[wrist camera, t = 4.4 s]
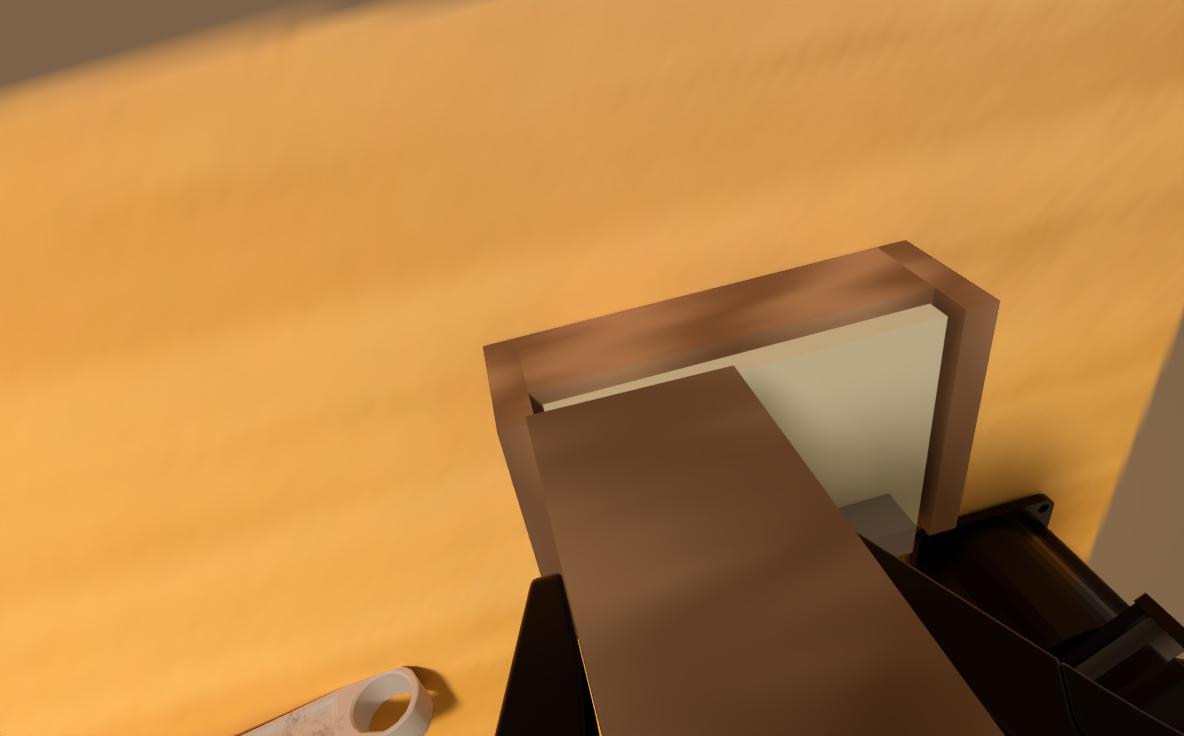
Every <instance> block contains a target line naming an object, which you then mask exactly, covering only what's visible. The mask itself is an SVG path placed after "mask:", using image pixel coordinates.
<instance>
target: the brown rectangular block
mask: <svg viewBox="0 0 1184 736" xmlns="http://www.w3.org/2000/svg"><path fill="white" fill-rule="evenodd" d="M525 417H526V421H527V425H528V429H529V433H530V438H531V442H532V446H533V450H534V454H535V459H536V463H537V467H538V471H539V475H540V480H541V484H542V488H543V492H544V496H545V501H546V505H547V509H548V513H549V517H550V522H551V526H552V530H553V534H554V538H555V543H556V547H557V551H558V555H559V559H560V564H561V568H562V572H563V576H564V580H565V584H566V589H567V593H568V597H569V601H570V605H571V609H572V613H573V618H574V622H575V626H576V630H577V634H578V638H579V643H580V647H581V651H582V655H583V659H584V663H585V667H586V672H587V676H588V680H589V684H590V688H591V692H592V696H593V701H594V705H595V709H596V713H597V717H598V721H599V726H600V730H601V734H602V736H1005V735H1004V734H1003V732H1002V731H1001V730H1000V728H999V727H998V726H997V724H996V723H995V722H994V720H993V719H992V717H991V716H990V715H989V713H988V712H987V711H986V709H985V708H984V707H983V705H982V704H981V702H980V701H979V700H978V698H977V697H976V696H975V694H974V693H973V691H972V690H971V689H970V687H969V686H968V685H967V683H966V682H965V681H964V679H963V678H962V676H961V675H960V674H959V672H958V671H957V670H956V668H955V667H954V666H953V664H952V663H951V661H950V660H949V659H948V657H947V656H946V655H945V653H944V652H943V651H942V649H941V648H940V646H939V645H938V644H937V642H936V641H935V640H934V638H933V637H932V635H931V634H930V633H929V631H928V630H927V629H926V627H925V626H924V625H923V623H922V622H921V620H920V619H919V618H918V616H917V615H916V614H915V612H914V611H913V610H912V608H911V607H910V605H909V604H908V603H907V601H906V600H905V599H904V597H903V596H902V594H901V593H900V592H899V590H898V589H897V588H896V586H895V585H894V584H893V582H892V581H891V579H890V578H889V577H888V575H887V574H886V573H885V571H884V570H883V569H882V567H881V566H880V564H879V563H878V562H877V560H876V559H875V558H874V556H873V555H872V553H871V552H870V551H869V549H868V548H867V547H866V545H865V544H864V543H863V541H862V540H861V538H860V537H859V536H858V534H857V533H856V532H855V530H854V529H853V528H852V526H851V525H850V523H849V522H848V521H847V519H846V518H845V517H844V515H843V514H842V513H841V511H840V510H839V508H838V507H837V506H836V504H835V503H834V502H833V500H832V499H831V497H830V496H829V495H828V493H827V492H826V491H825V489H824V488H823V487H822V485H821V484H820V482H819V481H818V480H817V478H816V477H815V476H814V474H813V473H812V472H811V470H810V469H809V467H808V466H807V465H806V463H805V462H804V461H803V459H802V458H801V456H800V455H799V454H798V452H797V451H796V450H795V448H794V447H793V446H792V444H791V443H790V441H789V440H788V439H787V437H786V436H785V435H784V433H783V432H782V431H781V429H780V428H779V426H778V425H777V424H776V422H775V421H774V420H773V418H772V417H771V416H770V414H769V413H768V411H767V410H766V409H765V407H764V406H763V405H762V403H761V402H760V400H759V399H758V398H757V396H756V395H755V394H754V392H753V391H752V390H751V388H750V387H749V385H748V384H747V383H746V381H745V380H744V379H743V377H742V376H741V375H740V373H739V372H738V370H737V369H736V368H735V366H734V365H733V366H729V367H725V368H721V369H716V370H712V371H708V372H704V373H700V374H696V375H692V376H688V377H684V378H680V379H676V380H671V381H667V382H663V383H659V384H655V385H651V386H647V387H643V388H639V389H635V390H631V391H626V392H622V393H618V394H614V395H610V396H606V397H602V398H598V399H594V400H590V401H586V402H581V403H577V404H573V405H569V406H565V407H561V408H557V409H553V410H549V411H545V412H541V413H536V414H532V415H528V416H525Z"/></svg>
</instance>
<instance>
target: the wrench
mask: <svg viewBox="0 0 1184 736" xmlns="http://www.w3.org/2000/svg"><path fill="white" fill-rule="evenodd" d="M401 693H411V701H410V703H409V706H408V708H407V710H406V712H405V713H404V715H403V716H402V717H401V718H400V719H399V720H398V722H397V723H395V724H394V725H392V726H391V727H389V728H388V729H386V730H385V731H372V732H369V724H370V722H371V719H372V717H373V715H374V713H375V712H376V710H377V709H378V708H379V707H380V706H381V705H382V704H383V702H385V701H386V700H388V699H389V698H391V697H393V696H394V695H398V694H401ZM432 716H433V701H432V699H431V697H430V695H429V693H428V692H427V691H426V689H425V688H424V686H423V685H422V683H421V682H420V680H419V679H418V678H417V676H416V675H415V673H414V672H413V670H412V669H410V668H408V667H404V666H403V667H398V668H396V669H393V670H390V671H387V672H385V673H382V674H380V675H375V676H372V677H370V678H367V679H364V680H361V681H358V682H355V683H352V684H350V685H348V686H345V687H343V688H340V689H338V690H336V691H334V692H332V693H330V694H328V695H325V696H323V697H321V698H319V699H317V700H315V701H313V702H311V703H309V704H306V705H304V706H302V707H300V708H298V709H296V710H294V711H292V712H290V713H288V714H285V715H283V716H281V717H279V718H277V719H275V720H273V721H271V722H269V723H267V724H264V725H262V726H260V727H258V728H256V729H254V730H252V731H250V732H247V733H245V734H243V735H241V736H424V735H425V734H426V732H427V731H428V728H429V726H430V723H431V720H432Z"/></svg>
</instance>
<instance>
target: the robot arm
mask: <svg viewBox="0 0 1184 736" xmlns="http://www.w3.org/2000/svg"><path fill="white" fill-rule="evenodd" d="M1053 507H1054V502H1053V501H1052V500H1051V499H1050V498H1049V497H1048V496H1046V495H1045V494H1040V495H1036V496H1033V497H1029V498H1026V499H1022V500H1019V501H1015V502H1012V503H1009V504H1005V505H1002V506H998V507H995V508H992V509H988V510H985V511H981V512H978V513H974V514H971V515H968V516H964V517H961V518H958V520H957V525H956V528H953V529H950V530H947V531H943V532H940V533H936V534H933V535H930V536H929V535H928V534H927V533H926V531H925V530H924V529H922V530H920V531H919V532H918V533H917V534H916V535H915V539H914V546H913V552H912V554H911V561H910V565H909V564H907V563H906V562H904V561H902V560H901V559H899V558H898V557H896V556H894V555H893V554H891V553H890V552H888V551H887V550H885V549H883V548H882V547H880V546H879V545H877V544H876V543H874V542H872V541H871V540H869V539H868V538H866V537H865V536H863V535H861V534H860V533H858V532H857V531H855V532H856V533H857V534H858V536H859V537H860V538H861V540H862V541H863V543H864V544H865V545H866V547H867V548H868V549H869V551H870V552H871V553H872V555H873V556H874V558H875V559H876V560H877V562H878V563H879V564H880V566H881V567H882V569H883V570H884V571H885V573H886V574H887V575H888V577H889V578H890V579H891V581H892V582H893V584H894V585H895V586H896V588H897V589H898V590H899V592H900V593H901V594H902V596H903V597H904V599H905V600H906V601H907V603H908V604H909V605H910V607H911V608H912V610H913V611H914V612H915V614H916V615H917V616H918V618H919V619H920V620H921V622H922V623H923V625H924V626H925V627H926V629H927V630H928V631H929V633H930V634H931V635H932V637H933V638H934V640H935V641H936V642H937V644H938V645H939V646H940V648H941V649H942V651H943V652H944V653H945V655H946V656H947V657H948V659H949V660H950V661H951V663H952V664H953V666H954V667H955V668H956V670H957V671H958V672H959V674H960V675H961V676H962V678H963V679H964V681H965V682H966V683H967V685H968V686H969V687H970V689H971V690H972V691H973V693H974V694H975V696H976V697H977V698H978V700H979V701H980V702H981V704H982V705H983V707H984V708H985V709H986V711H987V712H988V713H989V715H990V716H991V717H992V719H993V720H994V722H995V723H996V724H997V726H998V727H999V728H1000V730H1001V731H1002V732H1003V734H1004V735H1005V736H1184V659H1178V658H1175V657H1176V656H1178V655H1180V654H1181V653H1183V652H1184V627H1183V626H1182V625H1180V623H1178V622H1177V621H1176V620H1175V619H1174V618H1173V617H1172V616H1171V615H1169V614H1168V613H1167V612H1166V611H1165V610H1164V609H1163V608H1162V607H1161V606H1160V605H1159V604H1157V603H1156V602H1155V601H1154V600H1153V599H1152V598H1151V597H1150V596H1149V595H1147V594H1146V593H1144V594H1143V595H1141V596H1140V597H1138V598H1137V599H1135V600H1134V602H1135V604H1133V605H1132V606H1129V605H1128V604H1127V603H1126V602H1125V601H1124V600H1123V599H1122V598H1121V597H1120V596H1119V595H1118V594H1117V593H1116V592H1114V590H1112V589H1111V588H1110V587H1109V586H1108V585H1107V584H1106V583H1105V582H1104V581H1103V580H1102V579H1101V578H1100V577H1099V576H1098V575H1097V574H1096V573H1094V571H1092V570H1091V569H1090V568H1089V567H1088V566H1087V565H1086V564H1085V563H1084V562H1083V561H1082V560H1081V559H1080V558H1079V557H1078V556H1077V555H1076V554H1075V553H1074V552H1072V551H1071V550H1070V549H1069V548H1068V547H1067V546H1066V545H1065V544H1064V543H1063V542H1062V541H1061V540H1060V539H1059V538H1058V537H1057V536H1056V535H1055V534H1054V533H1053V532H1051V531H1050V530H1049V529H1048V528H1047V527H1048V523H1049V520H1050V517H1051V513H1052V510H1053ZM495 736H599V730H598V725H597V721H596V716H595V711H594V707H593V703H592V699H591V695H590V690H589V686H588V682H587V678H586V674H585V670H584V665H583V661H582V657H581V653H580V649H579V645H578V640H577V636H576V632H575V628H574V624H573V619H572V615H571V611H570V607H569V603H568V599H567V594H566V590H565V586H564V582H563V578H562V576H561V575H560V574H558V573H554V574H550V575H547V576H543V577H539V578H536V579H534V580H533V581H532V583H531V585H530V588H529V592H528V597H527V601H526V605H525V609H524V614H523V618H522V622H521V626H520V631H519V635H518V639H517V643H516V648H515V652H514V656H513V660H512V665H511V669H510V673H509V677H508V682H507V686H506V690H505V694H504V699H503V703H502V707H501V711H500V716H499V720H498V724H497V728H496V733H495Z"/></svg>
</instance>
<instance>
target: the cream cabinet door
mask: <svg viewBox="0 0 1184 736" xmlns="http://www.w3.org/2000/svg"><path fill="white" fill-rule="evenodd" d="M947 319H948V316H946V315H945V314H944V313H942V312H941V311H940V310H938V309H937V308H935V307H934V306H933V305H931V304H927V305H923V306H919V307H915V308H911V309H907V310H904V311H900V312H896V313H892V314H888V315H885V316H881V317H877V318H873V319H869V320H865V321H862V322H858V323H854V324H850V325H846V326H842V327H839V328H835V329H831V330H827V331H823V332H819V333H816V334H812V335H808V336H804V337H800V338H796V339H793V340H789V341H785V342H781V343H777V344H773V345H770V346H766V347H762V348H758V349H754V350H750V351H747V352H743V353H739V354H735V355H731V356H727V357H724V358H720V359H716V360H712V361H708V362H705V363H701V364H697V365H693V366H689V367H685V368H682V369H678V370H674V371H670V372H666V373H662V374H659V375H655V376H651V377H647V378H643V379H639V380H636V381H632V382H628V383H624V384H620V385H616V386H613V387H609V388H605V389H601V390H597V391H593V392H590V393H586V394H582V395H578V396H574V397H570V398H567V399H563V400H559V401H555V402H551V403H547V404H544V405H543V408H544V412H545V411H549V410H553V409H557V408H561V407H565V406H569V405H573V404H577V403H581V402H586V401H590V400H594V399H598V398H602V397H606V396H610V395H614V394H618V393H622V392H626V391H631V390H635V389H639V388H643V387H647V386H651V385H655V384H659V383H663V382H667V381H671V380H676V379H680V378H684V377H688V376H692V375H696V374H700V373H704V372H708V371H712V370H716V369H721V368H725V367H729V366H733V365H734V366H735V368H736V369H737V370H738V372H739V373H740V375H741V376H742V377H743V379H744V380H745V381H746V383H747V384H748V385H749V387H750V388H751V390H752V391H753V392H754V394H755V395H756V396H757V398H758V399H759V400H760V402H761V403H762V405H763V406H764V407H765V409H766V410H767V411H768V413H769V414H770V416H771V417H772V418H773V420H774V421H775V422H776V424H777V425H778V426H779V428H780V429H781V431H782V432H783V433H784V435H785V436H786V437H787V439H788V440H789V441H790V443H791V444H792V446H793V447H794V448H795V450H796V451H797V452H798V454H799V455H800V456H801V458H802V459H803V461H804V462H805V463H806V465H807V466H808V467H809V469H810V470H811V472H812V473H813V474H814V476H815V477H816V478H817V480H818V481H819V482H820V484H821V485H822V487H823V488H824V489H825V491H826V492H827V493H828V495H829V496H830V497H831V499H832V500H833V502H834V503H835V504H836V506H837V507H838V508H839V510H840V511H841V513H842V514H843V515H844V517H845V518H846V519H847V521H848V522H849V523H850V525H851V526H852V528H853V529H854V530H855V531H857V532H858V533H860V534H861V535H863V536H865V537H866V538H868V539H869V540H871V541H872V542H874V543H876V544H877V545H879V546H880V547H882V548H883V549H885V550H887V551H888V552H890V553H891V554H893V555H894V556H896V557H898V556H901V555H905V554H908V553H911V552H913V546H914V539H915V533H916V526H917V521H918V514H919V507H920V501H921V494H922V487H923V480H924V474H925V467H926V460H927V453H928V447H929V440H930V433H931V427H932V420H933V413H934V406H935V400H936V393H937V386H938V379H939V373H940V366H941V359H942V352H943V346H944V339H945V332H946V326H947Z"/></svg>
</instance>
